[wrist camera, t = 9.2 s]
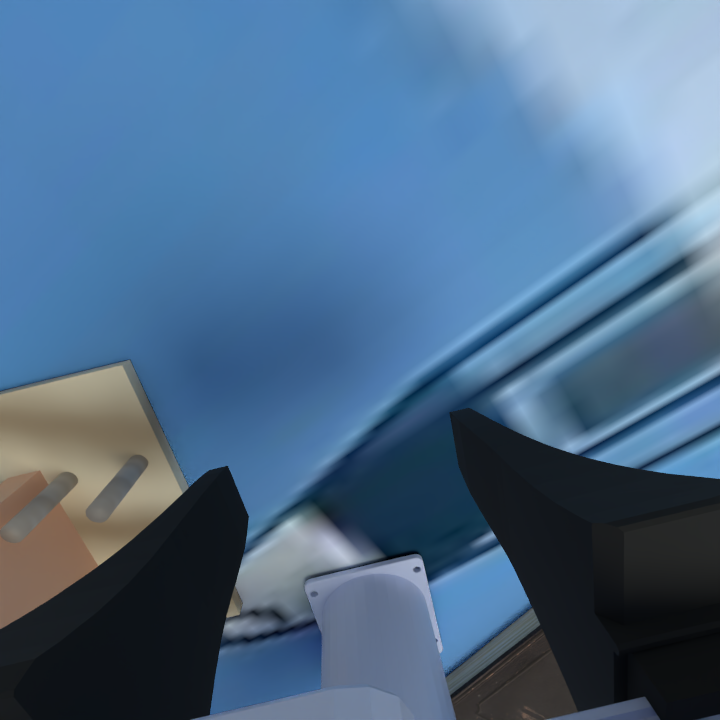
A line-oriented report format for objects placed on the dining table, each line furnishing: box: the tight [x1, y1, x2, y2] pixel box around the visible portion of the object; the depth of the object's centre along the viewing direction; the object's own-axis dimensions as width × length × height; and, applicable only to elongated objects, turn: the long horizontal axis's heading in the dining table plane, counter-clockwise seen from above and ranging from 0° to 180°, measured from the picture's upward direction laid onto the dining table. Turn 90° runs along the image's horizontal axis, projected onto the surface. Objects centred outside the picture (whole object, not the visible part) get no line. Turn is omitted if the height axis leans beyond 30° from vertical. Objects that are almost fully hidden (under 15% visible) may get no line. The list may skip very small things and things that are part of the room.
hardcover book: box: [446, 608, 578, 720], centre depth 32 cm, size 16×23×2 cm
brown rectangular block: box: [0, 470, 98, 629], centre depth 19 cm, size 9×2×7 cm, turn 13°
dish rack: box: [0, 360, 243, 618], centre depth 21 cm, size 18×15×5 cm
